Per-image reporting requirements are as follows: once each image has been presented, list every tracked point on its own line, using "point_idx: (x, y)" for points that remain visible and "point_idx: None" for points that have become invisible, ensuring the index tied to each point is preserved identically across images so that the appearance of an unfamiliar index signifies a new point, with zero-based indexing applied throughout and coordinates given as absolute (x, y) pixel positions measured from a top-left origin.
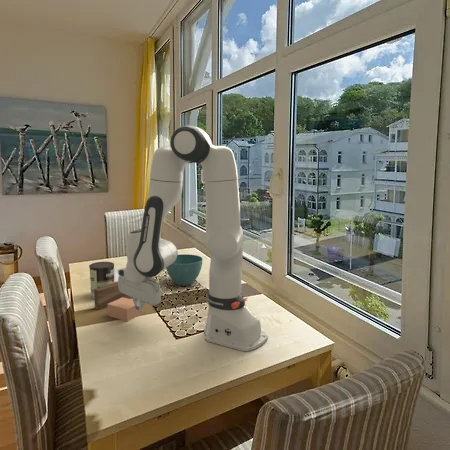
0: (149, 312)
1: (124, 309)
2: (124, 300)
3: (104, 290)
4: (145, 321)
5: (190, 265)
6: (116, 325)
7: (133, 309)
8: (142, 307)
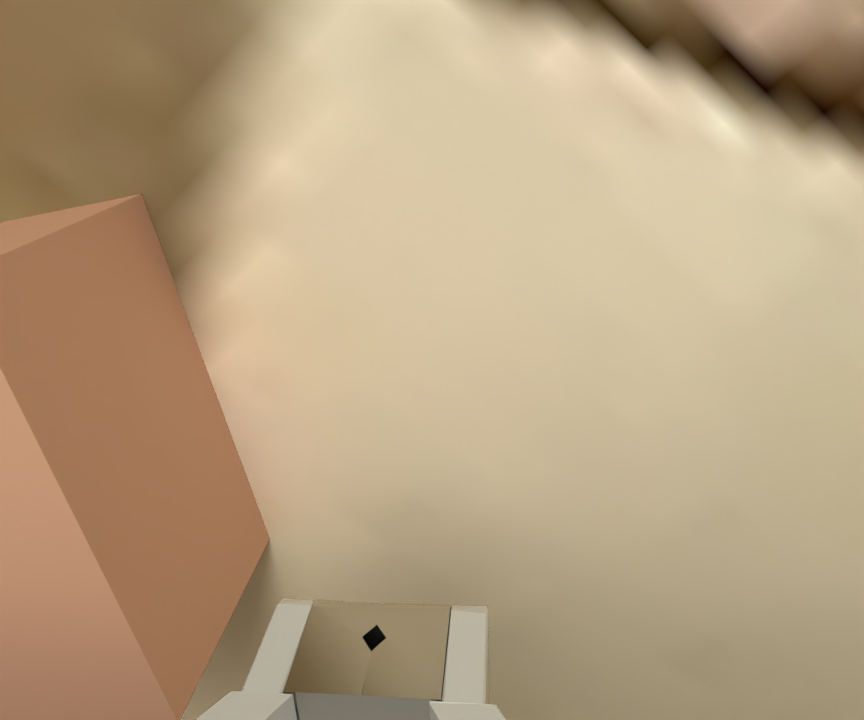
0: (177, 32)
1: (120, 709)
2: None
3: None
4: (489, 373)
5: None
6: None
7: (143, 518)
8: (485, 684)
